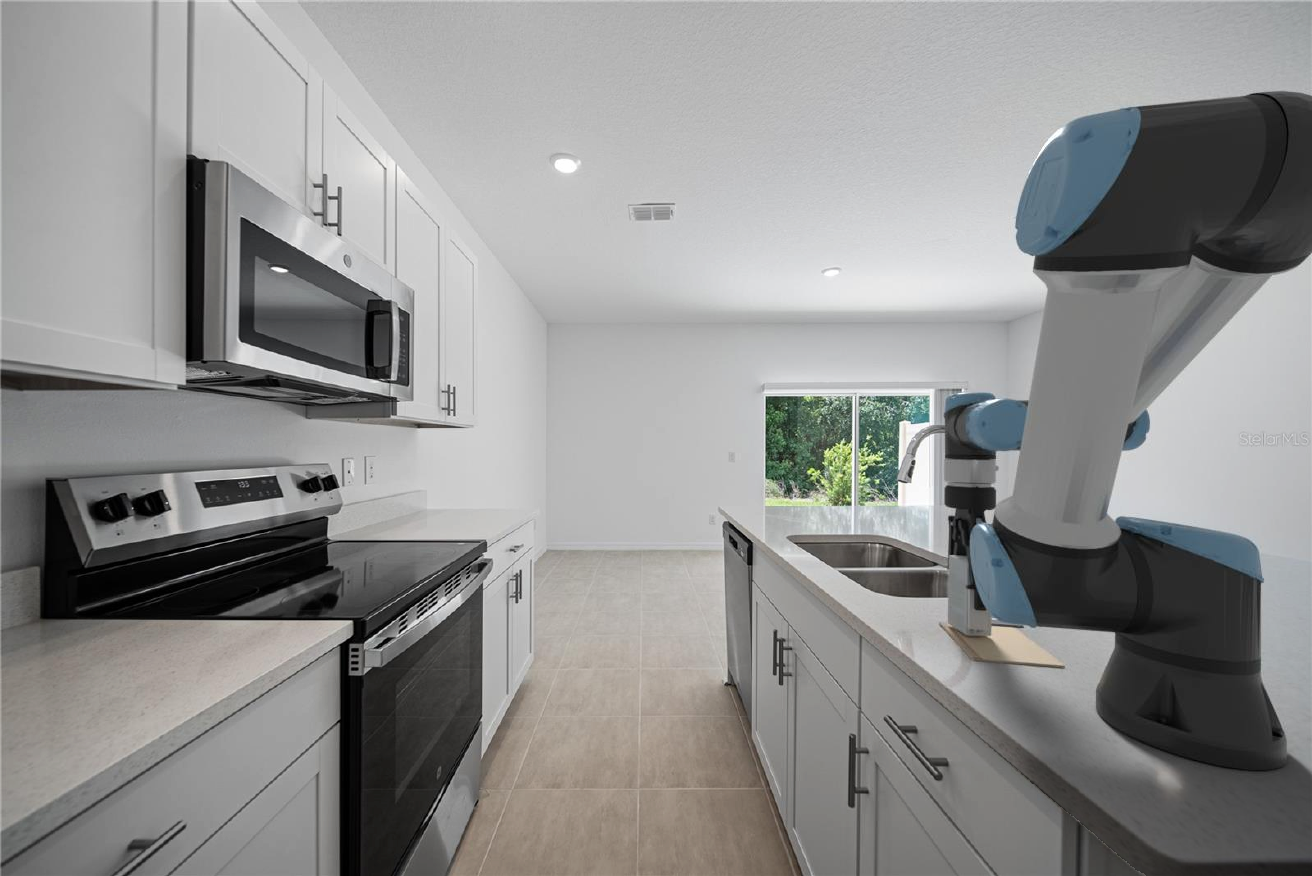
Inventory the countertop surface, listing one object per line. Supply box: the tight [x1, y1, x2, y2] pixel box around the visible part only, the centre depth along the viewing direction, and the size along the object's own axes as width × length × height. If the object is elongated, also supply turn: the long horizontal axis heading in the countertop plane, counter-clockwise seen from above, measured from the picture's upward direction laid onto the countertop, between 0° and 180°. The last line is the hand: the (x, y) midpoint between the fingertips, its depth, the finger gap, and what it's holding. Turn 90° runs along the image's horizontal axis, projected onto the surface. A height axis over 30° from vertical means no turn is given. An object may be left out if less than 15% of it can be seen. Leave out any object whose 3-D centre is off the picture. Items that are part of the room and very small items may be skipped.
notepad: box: [938, 621, 1066, 668], centre depth 85 cm, size 16×12×1 cm
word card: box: [991, 616, 1024, 628], centre depth 96 cm, size 5×8×1 cm, turn 78°
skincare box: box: [947, 555, 992, 636], centre depth 90 cm, size 6×4×12 cm
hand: (969, 621), depth 90 cm, fingers closed on skincare box, 6 cm apart
